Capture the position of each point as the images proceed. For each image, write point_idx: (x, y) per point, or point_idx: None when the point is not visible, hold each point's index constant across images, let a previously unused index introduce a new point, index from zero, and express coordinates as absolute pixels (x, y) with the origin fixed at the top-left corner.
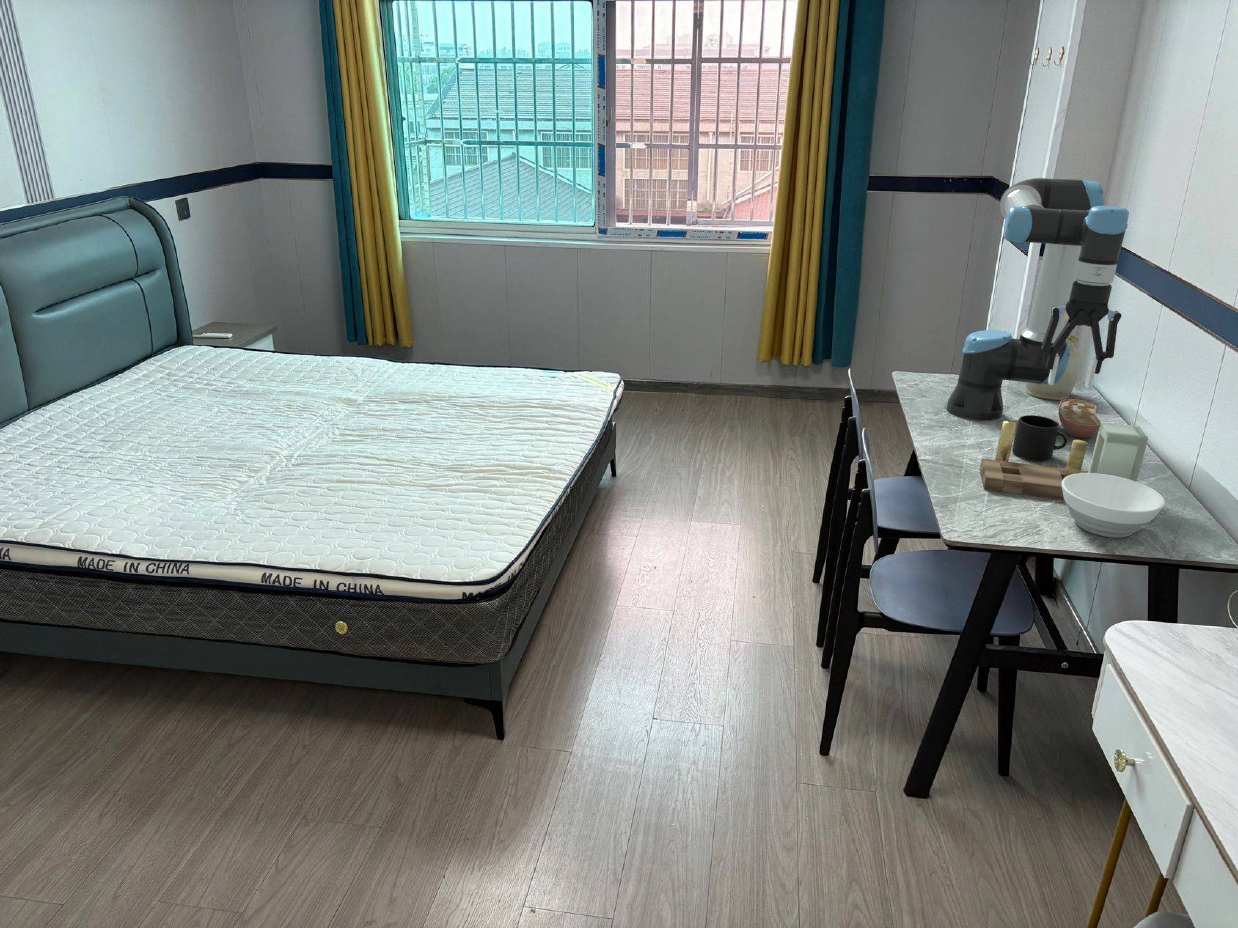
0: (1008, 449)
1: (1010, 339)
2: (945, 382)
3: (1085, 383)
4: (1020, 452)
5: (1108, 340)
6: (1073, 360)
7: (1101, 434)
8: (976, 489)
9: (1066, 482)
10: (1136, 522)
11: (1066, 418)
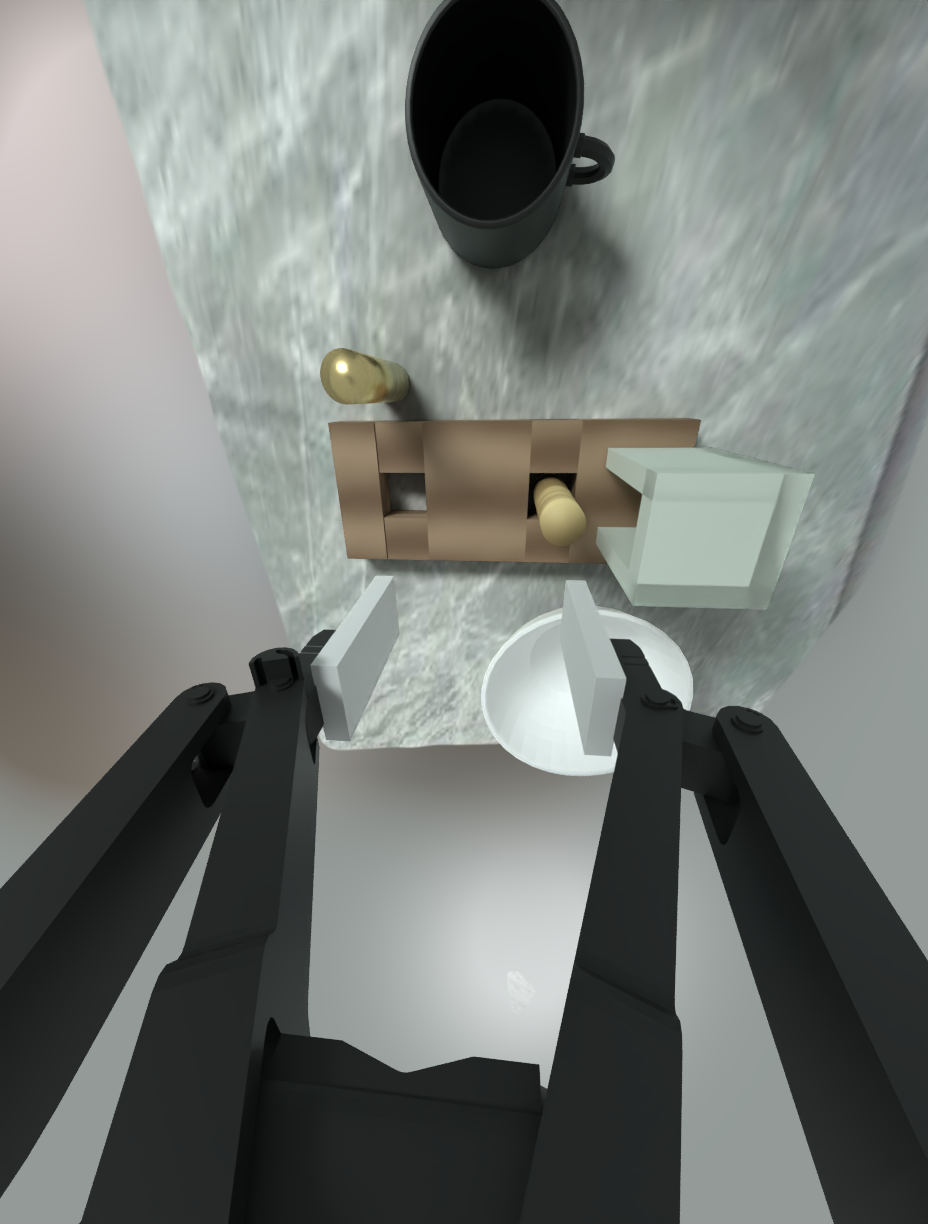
0: (385, 400)
1: None
2: None
3: (566, 593)
4: (449, 242)
5: (751, 906)
6: None
7: (638, 518)
8: (342, 553)
9: (498, 662)
10: None
11: None
